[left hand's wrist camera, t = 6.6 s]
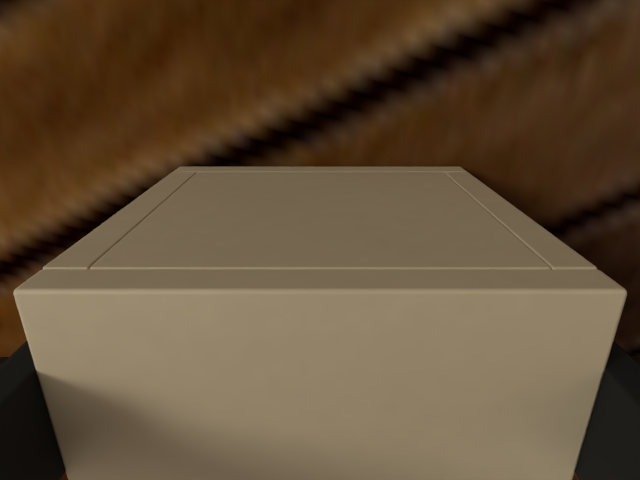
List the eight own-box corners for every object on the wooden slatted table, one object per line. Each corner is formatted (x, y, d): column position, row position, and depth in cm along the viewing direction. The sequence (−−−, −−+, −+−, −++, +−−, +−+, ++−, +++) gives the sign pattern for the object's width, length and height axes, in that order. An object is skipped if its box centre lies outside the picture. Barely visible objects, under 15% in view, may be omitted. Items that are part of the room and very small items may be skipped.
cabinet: (423, 475, 24) (493, 751, 14) (216, 475, 24) (147, 752, 14) (461, 166, 17) (631, 290, 8) (179, 166, 17) (10, 290, 8)
